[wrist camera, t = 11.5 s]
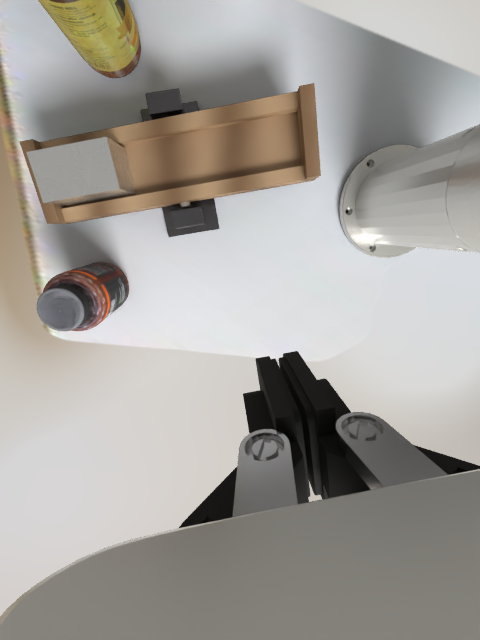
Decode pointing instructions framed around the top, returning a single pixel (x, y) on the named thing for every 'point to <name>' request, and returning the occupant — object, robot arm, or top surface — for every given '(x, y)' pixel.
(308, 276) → the top surface
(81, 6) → the sauce bottle
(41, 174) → the rider
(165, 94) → the fulcrum
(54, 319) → the supplement bottle
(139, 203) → the beam
